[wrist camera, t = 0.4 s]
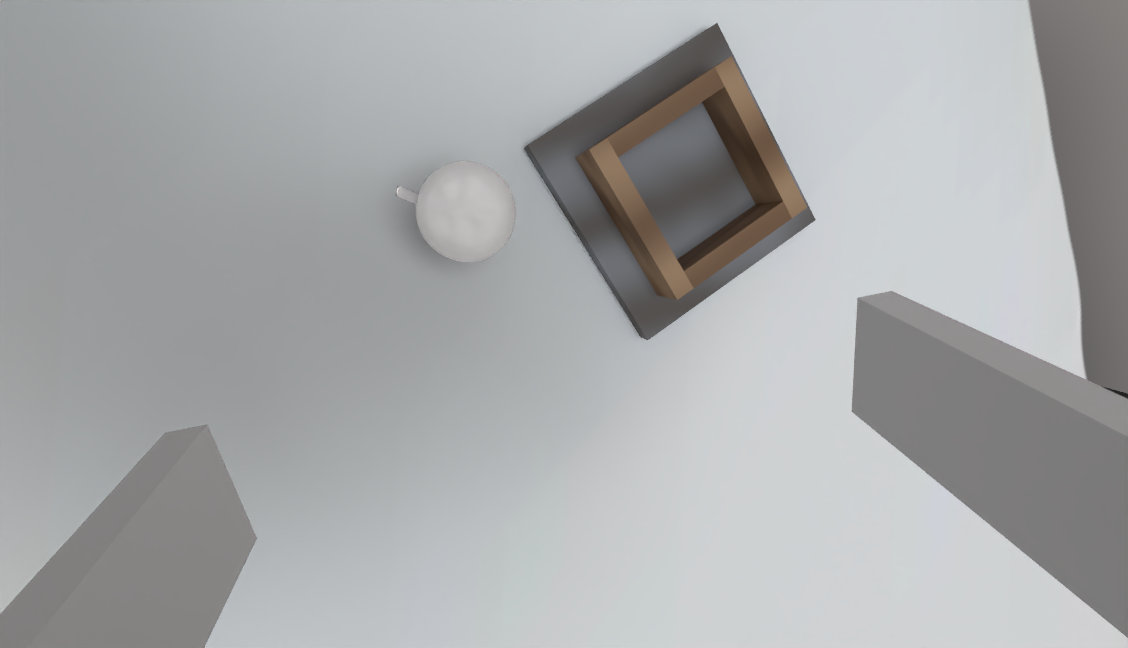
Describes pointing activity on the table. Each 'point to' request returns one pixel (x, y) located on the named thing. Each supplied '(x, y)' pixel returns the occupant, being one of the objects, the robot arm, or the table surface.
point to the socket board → (673, 182)
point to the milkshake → (463, 211)
